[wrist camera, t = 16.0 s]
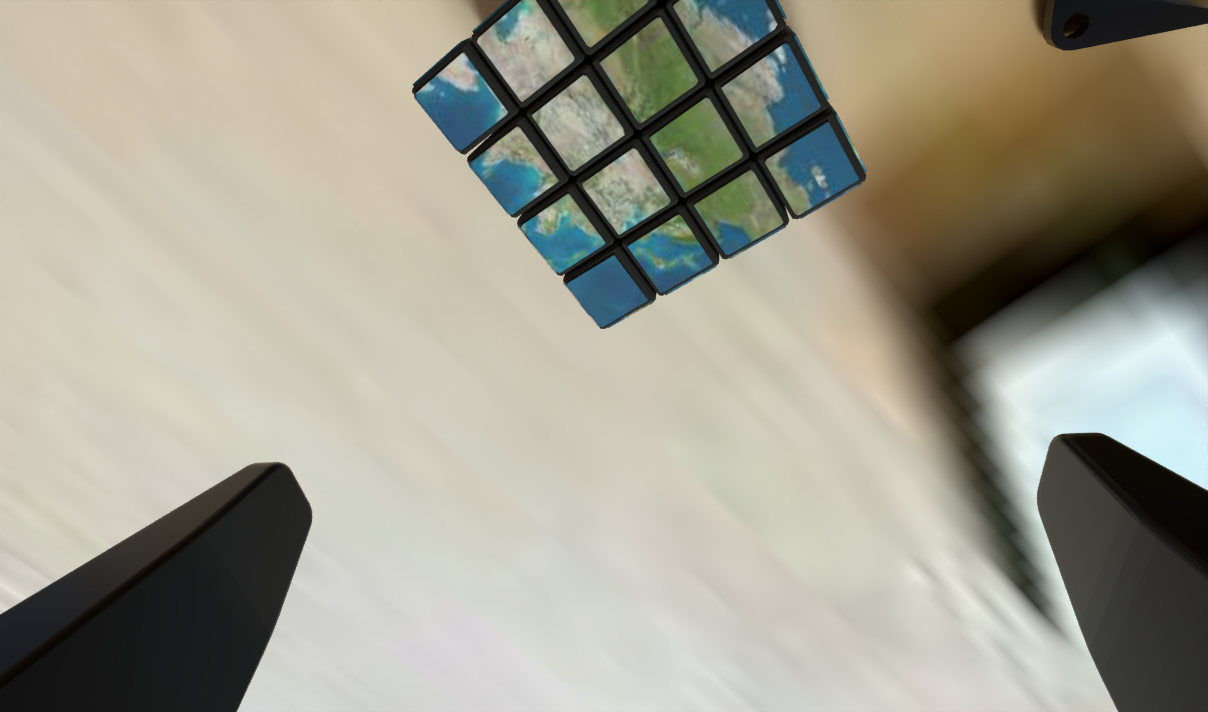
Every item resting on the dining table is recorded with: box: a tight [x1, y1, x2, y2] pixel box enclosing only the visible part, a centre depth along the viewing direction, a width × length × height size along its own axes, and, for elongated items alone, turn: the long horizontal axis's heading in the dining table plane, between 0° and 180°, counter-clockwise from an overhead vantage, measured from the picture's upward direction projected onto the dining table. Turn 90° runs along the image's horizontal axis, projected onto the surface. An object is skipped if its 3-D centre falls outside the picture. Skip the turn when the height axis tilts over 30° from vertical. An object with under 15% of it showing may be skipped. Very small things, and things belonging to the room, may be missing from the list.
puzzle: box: [412, 0, 867, 329], centre depth 14 cm, size 6×6×6 cm
